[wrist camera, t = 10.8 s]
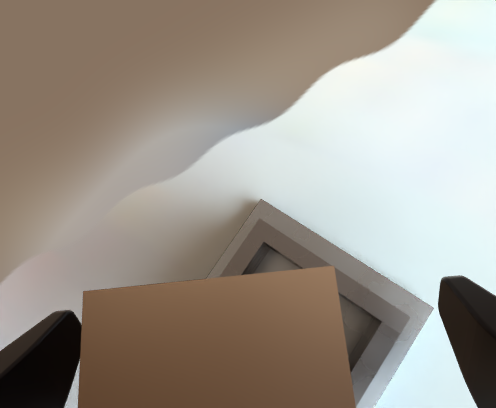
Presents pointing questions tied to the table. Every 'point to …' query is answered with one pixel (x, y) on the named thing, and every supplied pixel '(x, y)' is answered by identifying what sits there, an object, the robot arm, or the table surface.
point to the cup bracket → (349, 289)
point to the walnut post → (217, 344)
